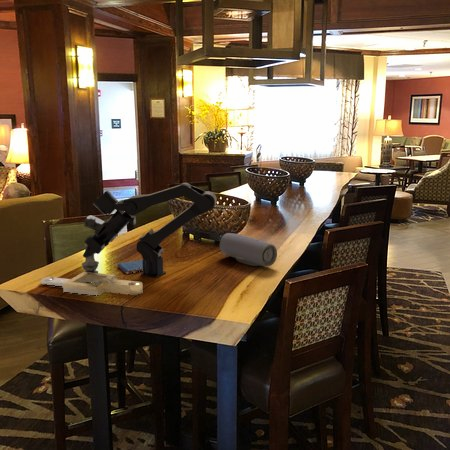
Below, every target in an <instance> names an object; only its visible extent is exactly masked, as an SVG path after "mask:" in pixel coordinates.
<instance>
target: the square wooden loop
mask: <svg viewBox="0 0 450 450" xmlns="http://www.w3.org/2000/svg"><path fill="white" fill-rule="evenodd" d="M69 279H70V280H68V281H66V282H65V283H63V287H62V289H63V288H67V289H76V290H86V291H95V292H97V291H99V290H101V289H102V288H104V292H103V293H110V292H111V294H112V293H113V294H119V293H120V294H121V295H128V294H130V296H139V295H138V294H140V295H142V294H143V291H144V290H143V289H144V288H143V287H144V286H143V282H142V281H137V280H134V281H133V280H125V279H117V275H116V274H110V273H91V272H85V271H83V272H81V273H79V274H78V275H77V274H76V275H75V276H74V277H71V278H69ZM84 279H96V280H101V281H99V282H97V283H96V284H94V283H79V282H81V281H83V280H84ZM141 293H142V294H141Z"/></svg>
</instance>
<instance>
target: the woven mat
mask: <svg viewBox="0 0 450 450" xmlns="http://www.w3.org/2000/svg"><path fill="white" fill-rule="evenodd" d="M142 261H143V259H139V260H131V261H127V262H119V263H118V264H116V266H117V268H118V269H120V271H122V272H124V274H125V275H129V274H130V273H131V274H135V273H136V272H137V273H138V271H139V273H141V272H142V271H143V262H142ZM140 271H141V272H140ZM132 272H133V273H132Z"/></svg>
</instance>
